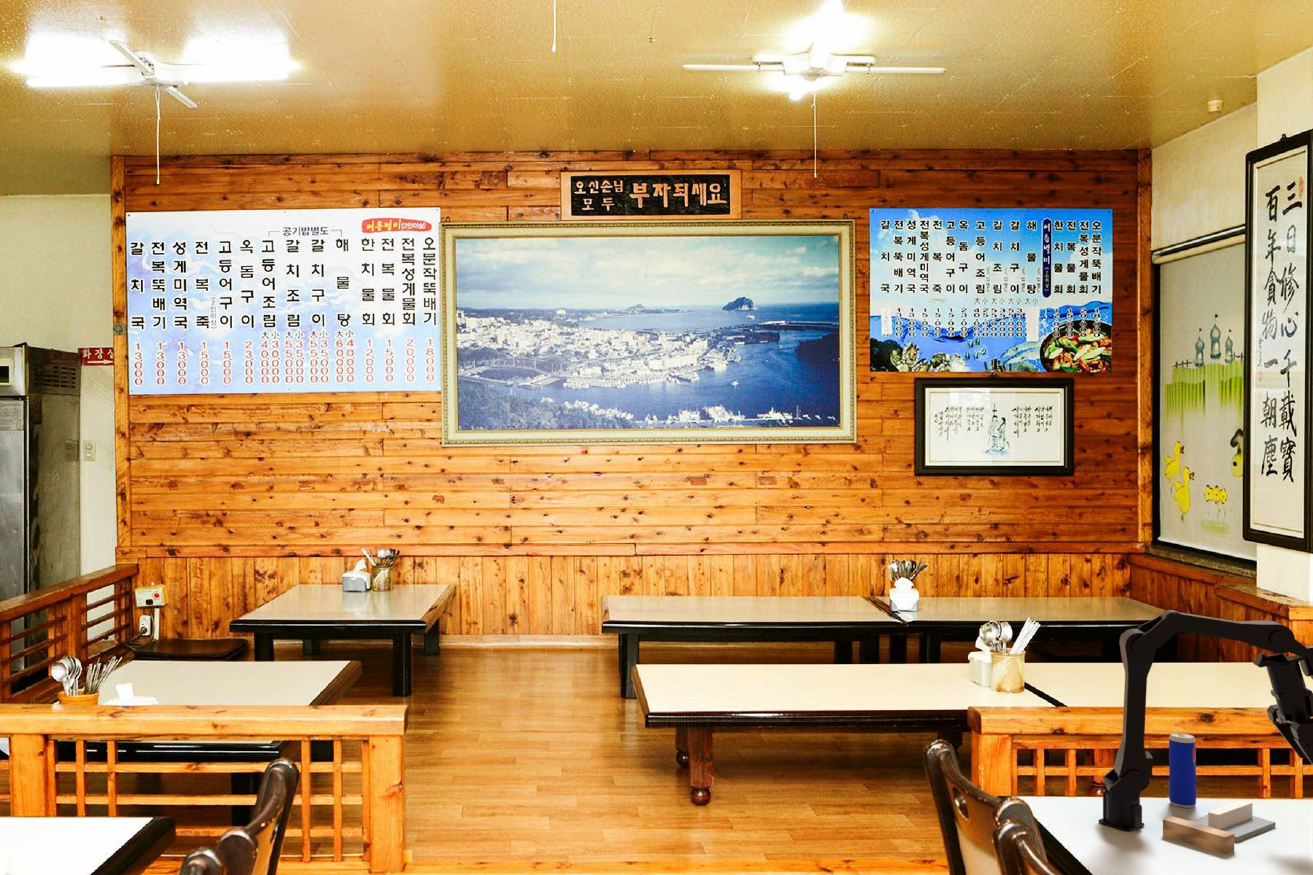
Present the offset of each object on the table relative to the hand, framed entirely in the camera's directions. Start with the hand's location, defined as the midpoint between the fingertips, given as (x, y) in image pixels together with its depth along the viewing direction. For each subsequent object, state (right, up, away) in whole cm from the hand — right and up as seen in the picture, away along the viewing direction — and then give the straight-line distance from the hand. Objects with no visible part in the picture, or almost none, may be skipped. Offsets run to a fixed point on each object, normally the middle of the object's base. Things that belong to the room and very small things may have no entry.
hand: (1311, 763), depth 196 cm
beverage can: (-14, -16, +22) cm, 31 cm away
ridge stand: (-11, -16, +8) cm, 21 cm away
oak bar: (-23, -15, -1) cm, 28 cm away
